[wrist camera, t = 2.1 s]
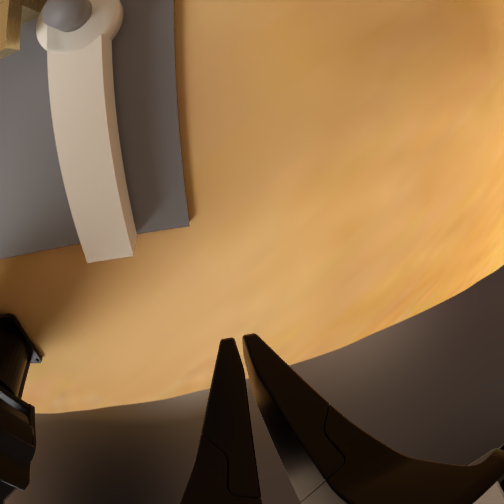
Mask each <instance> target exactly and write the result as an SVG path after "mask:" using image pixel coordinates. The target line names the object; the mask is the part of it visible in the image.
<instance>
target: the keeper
mask: <svg viewBox="0 0 504 504" xmlns="http://www.w3.org/2000/svg"><path fill="white" fill-rule="evenodd" d="M44 5H45V0H0V59H2V58H4V57H6V56H8V55H10V54H12V53H14V52H16V51H19V50H20V29H21V25H22V24H24V23H27V22H29V21H31V20H33V19H36V18H38V17H39V14H40V12H41V10H42V8H43V7H44Z"/></svg>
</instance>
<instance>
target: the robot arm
mask: <svg viewBox="0 0 504 504" xmlns="http://www.w3.org/2000/svg"><path fill="white" fill-rule="evenodd" d="M242 339H243V353H244V359H245V363H246V367H247V371H248V375H249V379H250V383H251V387H252V391H253V394H254V398H255V400H256V403H257V406H258V408H259V411H260V413H261V415H262V417H263V420H264V423H265V425H266V427H267V430H268V432H269V434H270V436H271V439H272V441H273V443H274V446H275V448H276V450H277V453H278V455H279V457H280V459H281V461H282V463H283V466H284V468H285V470H286V472H287V475H288V477H289V479H290V481H291V483H292V485H293V487H294V489H295V492H296V494H297V496H298V498H299V500H300V502H301V504H504V444H503V445H502V446H500V447H499V448H498V449H497V448H496V449H494V450H491V451H490V452H488V453H487V454H485V455H484V456H482V457H481V458H479V459H478V460H476V461H475V462H473V463H471V464H470V465H468V466H460V465H452V464H445V463H438V462H430V461H425V460H419V459H414V458H411V457H408V456H405V455H402V454H400V453H398V452H397V451H395V450H393V449H391V448H390V447H388V446H387V445H385V444H383V443H382V442H380V441H378V440H377V439H375V438H374V437H372V436H371V435H369V434H368V433H366V432H365V431H363V430H362V429H360V428H359V427H358V426H356V425H355V424H353V423H352V422H351V421H349V420H348V419H347V418H346V417H344V416H343V415H342V414H341V413H340V412H339V411H337V410H336V409H335V408H334V407H333V406H332V405H329V403H328V402H327V401H326V400H325V399H324V398H323V397H322V396H321V395H320V394H318V393H317V392H316V391H315V390H314V389H313V388H312V387H311V386H310V385H308V383H307V382H306V381H304V380H303V379H302V378H301V377H300V376H299V375H298V374H297V373H296V372H295V371H294V370H293V369H292V368H291V367H290V366H289V365H288V364H287V363H285V362H284V361H283V360H282V359H281V358H280V357H279V356H278V355H277V354H276V353H275V352H274V351H273V350H272V349H271V348H270V347H269V346H268V345H267V344H266V343H265V342H264V341H263V340H262V339H261V338H260V337H259V336H258V335H257V334H255V333H253V334H248V335H244V336H243V338H242ZM41 362H42V357H41V355H40V354H39V353H38V351H37V350H36V348H35V347H34V345H33V344H32V343H31V341H30V340H29V338H28V337H27V335H26V333H25V332H24V330H23V329H22V327H21V326H20V324H19V322H18V321H17V319H16V318H15V316H14V315H12V314H5V315H0V504H5V500H6V499H7V498H8V497H9V496H10V495H11V494H12V493H13V492H14V491H15V490H16V489H17V488H19V489H21V490H25V488H26V487H27V486H28V484H29V475H30V473H29V472H30V462H31V460H32V458H33V456H34V453H35V448H36V435H35V407H34V406H32V405H31V404H28V403H26V402H24V401H23V400H21V398H22V393H23V389H24V385H25V381H26V377H27V373H28V369H29V366H30V363H41ZM201 434H202V435H201V436H200V440H199V445H198V450H197V454H196V458H195V462H194V465H193V468H192V472H191V474H190V477H189V480H188V483H187V485H186V488H185V491H184V493H183V496H182V499H181V501H180V504H262V500H261V493H260V486H259V480H258V472H257V465H256V458H255V450H254V443H253V436H252V428H251V421H250V413H249V405H248V396H247V388H246V380H245V373H244V368H243V364H242V361H241V358H240V355H239V352H238V349H237V345H236V342H235V339H234V338H226V339H222V340H221V341H220V345H219V350H218V355H217V359H216V364H215V369H214V373H213V378H212V383H211V388H210V393H209V398H208V402H207V407H206V412H205V417H204V421H203V426H202V431H201Z"/></svg>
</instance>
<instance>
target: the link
mask: <svg viewBox="0 0 504 504" xmlns="http://www.w3.org/2000/svg"><path fill="white" fill-rule="evenodd" d="M123 16H124V11H123V6H122V4H121V2H120V0H48V1H47V2H46V4H45V5H44V7H43V8H42V10H41V12H40V14H39V17H38V20H37V25H36V35H37V39H38V41H39V43H40V45H41V46H42V47H43V48H44V49H45V50H47V66H48V84H49V96H50V106H51V115H52V122H53V129H54V136H55V142H56V148H57V153H58V158H59V164H60V168H61V173H62V178H63V182H64V186H65V190H66V194H67V198H68V202H69V206H70V210H71V213H72V217H73V220H74V224H75V227H76V230H77V234H78V237H79V240H80V243H81V246H82V249H83V252H84V255H85V258H86V261H87V263H92V262H98V261H105V260H111V259H118V258H124V257H131V256H133V255H134V250H135V245H136V240H137V233H136V229H135V224H134V220H133V215H132V210H131V205H130V200H129V195H128V190H127V184H126V179H125V173H124V167H123V161H122V154H121V147H120V140H119V132H118V124H117V115H116V105H115V94H114V81H113V65H112V40H113V39H114V37H115V36H116V35H117V33H118V32H119V30H120V28H121V25H122V22H123Z"/></svg>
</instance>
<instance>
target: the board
mask: <svg viewBox="0 0 504 504" xmlns="http://www.w3.org/2000/svg"><path fill="white" fill-rule="evenodd" d="M47 1H48V0H45V4H46V2H47ZM120 2H121V4H122V6H123V11H124V16H123V22H122V25H121V28H120V30H119V32H118V33H117V35H116V36H115V37H114V39H113V40H112V65H113V81H114V94H115V105H116V115H117V124H118V132H119V140H120V147H121V154H122V161H123V167H124V173H125V179H126V184H127V190H128V195H129V200H130V205H131V210H132V215H133V220H134V224H135V229H136V233H137V234H141V233H147V232H154V231H160V230H167V229H174V228H181V227H188V226H190V225H189V217H188V210H187V201H186V193H185V184H184V175H183V166H182V155H181V145H180V133H179V121H178V107H177V91H176V73H175V47H174V0H120ZM37 20H38V18H36V19H33V20H31V21H29V22H27V23H24V24H22V25H21V29H20V50H19V51H16V52H14V53H12V54H10V55H8V56H6V57H4V58H2V59H0V259H5V258H9V257H14V256H19V255H24V254H29V253H34V252H39V251H44V250H49V249H54V248H60V247H65V246H70V245H76V244H81V243H80V240H79V237H78V234H77V230H76V227H75V224H74V220H73V217H72V213H71V210H70V206H69V202H68V198H67V194H66V190H65V186H64V182H63V178H62V173H61V168H60V164H59V158H58V153H57V148H56V142H55V136H54V129H53V122H52V115H51V106H50V96H49V84H48V66H47V50H45V49H44V48H43V47H42V46H41V45H40V43H39V41H38V39H37V35H36V25H37Z"/></svg>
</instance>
